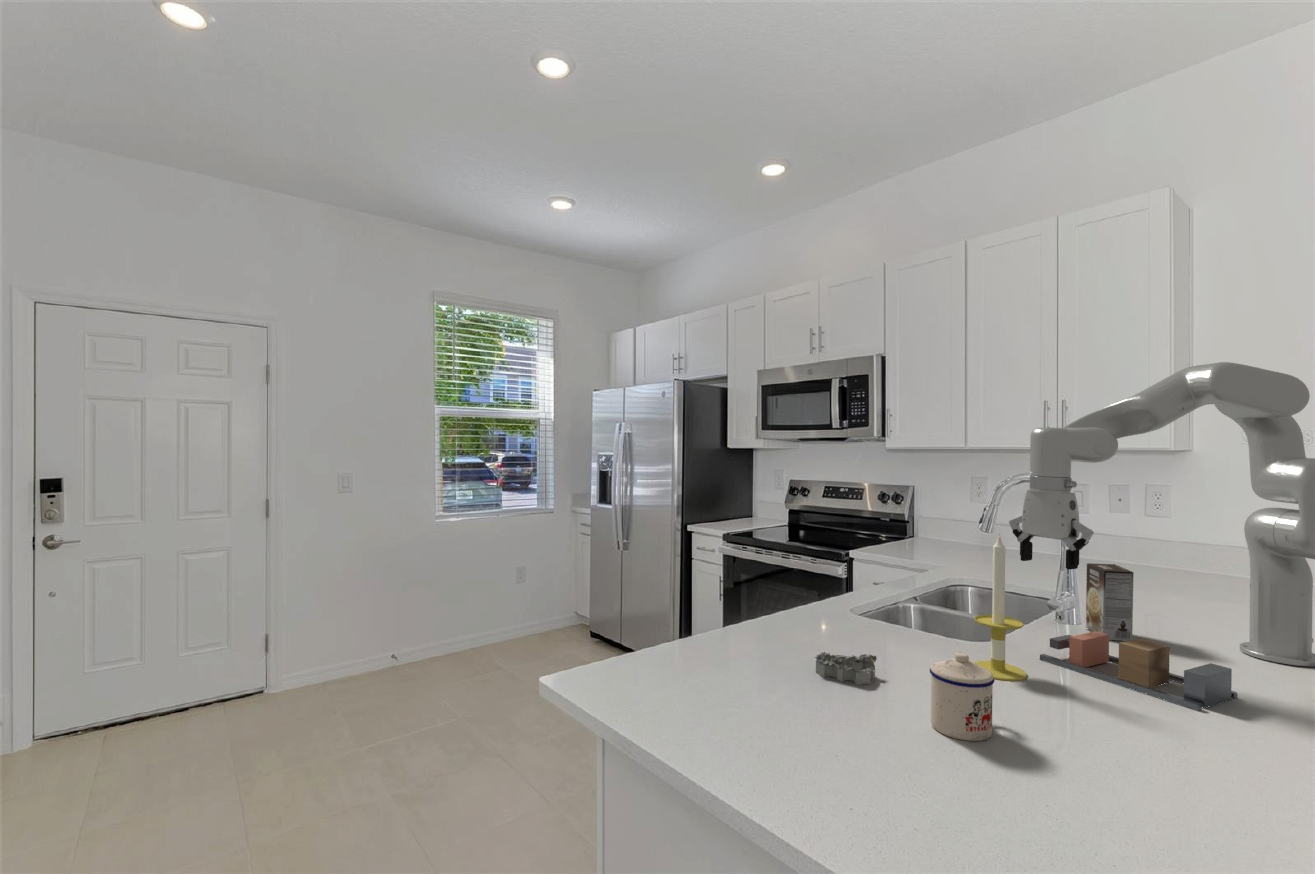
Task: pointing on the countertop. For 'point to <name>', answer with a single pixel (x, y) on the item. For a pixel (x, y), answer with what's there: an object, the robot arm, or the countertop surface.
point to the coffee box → (1109, 600)
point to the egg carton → (847, 667)
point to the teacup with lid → (961, 699)
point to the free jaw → (1084, 648)
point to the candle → (999, 623)
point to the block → (1144, 662)
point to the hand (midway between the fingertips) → (1048, 564)
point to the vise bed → (1199, 682)
